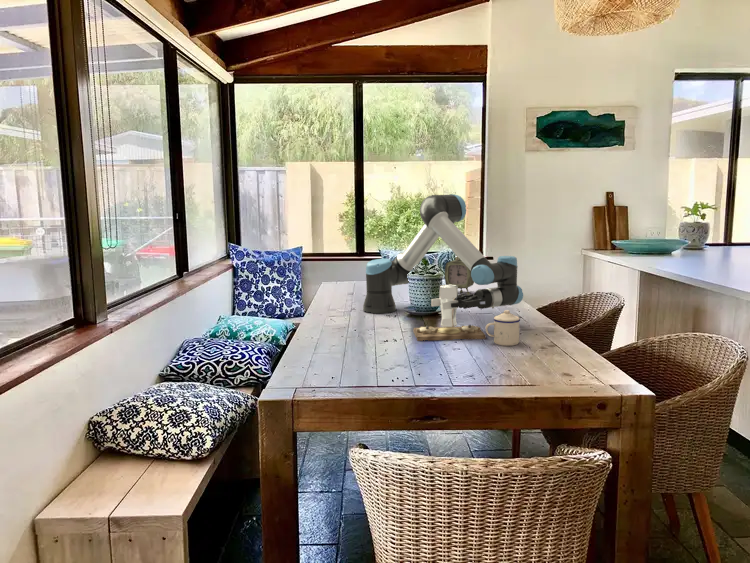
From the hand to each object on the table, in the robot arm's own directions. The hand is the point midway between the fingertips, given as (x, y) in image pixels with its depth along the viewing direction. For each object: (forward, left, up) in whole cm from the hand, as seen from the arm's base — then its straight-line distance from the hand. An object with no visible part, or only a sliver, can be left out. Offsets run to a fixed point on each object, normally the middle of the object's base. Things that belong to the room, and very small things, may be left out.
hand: (437, 304), depth 206 cm
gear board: (+5, +2, -12) cm, 13 cm away
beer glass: (+5, +2, -9) cm, 10 cm away
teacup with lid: (+22, -11, -13) cm, 27 cm away
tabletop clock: (+26, +92, -12) cm, 96 cm away
